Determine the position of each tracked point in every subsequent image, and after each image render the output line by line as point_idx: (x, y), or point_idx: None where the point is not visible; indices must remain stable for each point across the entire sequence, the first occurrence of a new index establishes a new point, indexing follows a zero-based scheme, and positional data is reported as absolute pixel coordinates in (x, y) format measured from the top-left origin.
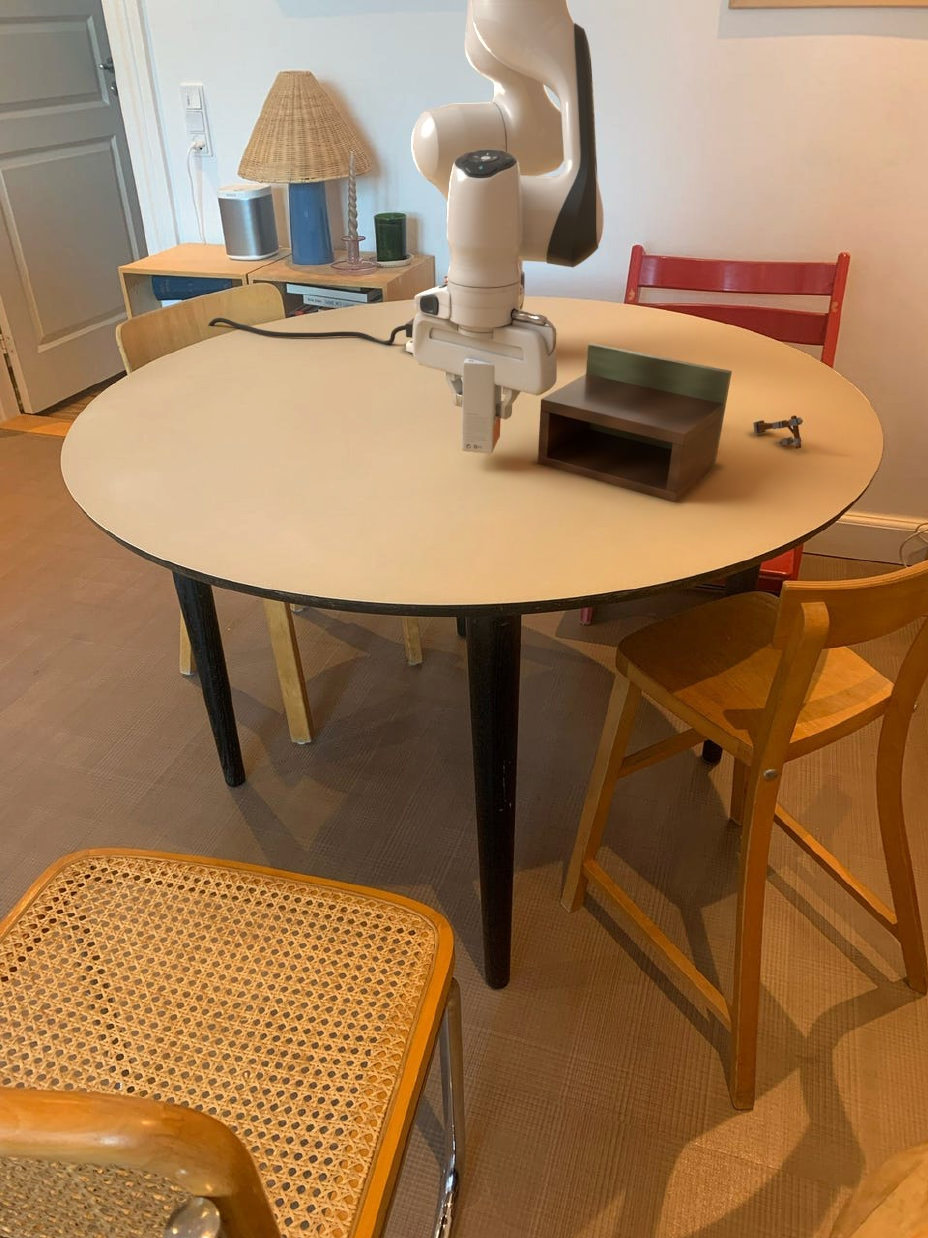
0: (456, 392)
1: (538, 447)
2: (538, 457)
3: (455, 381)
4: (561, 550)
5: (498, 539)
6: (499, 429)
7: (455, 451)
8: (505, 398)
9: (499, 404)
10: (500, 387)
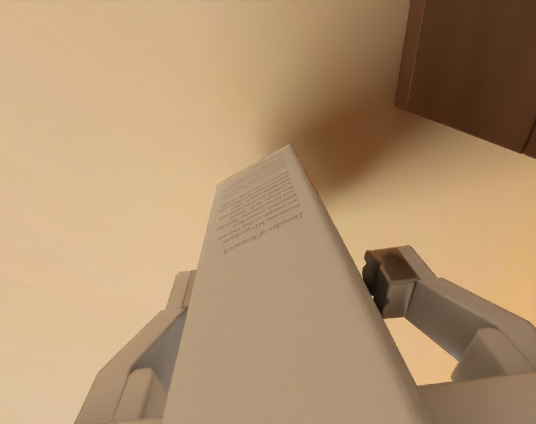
0: None
1: (418, 114)
2: (404, 109)
3: (160, 379)
4: (520, 302)
5: None
6: (303, 167)
7: (194, 184)
8: (451, 352)
9: (392, 309)
10: (366, 289)
